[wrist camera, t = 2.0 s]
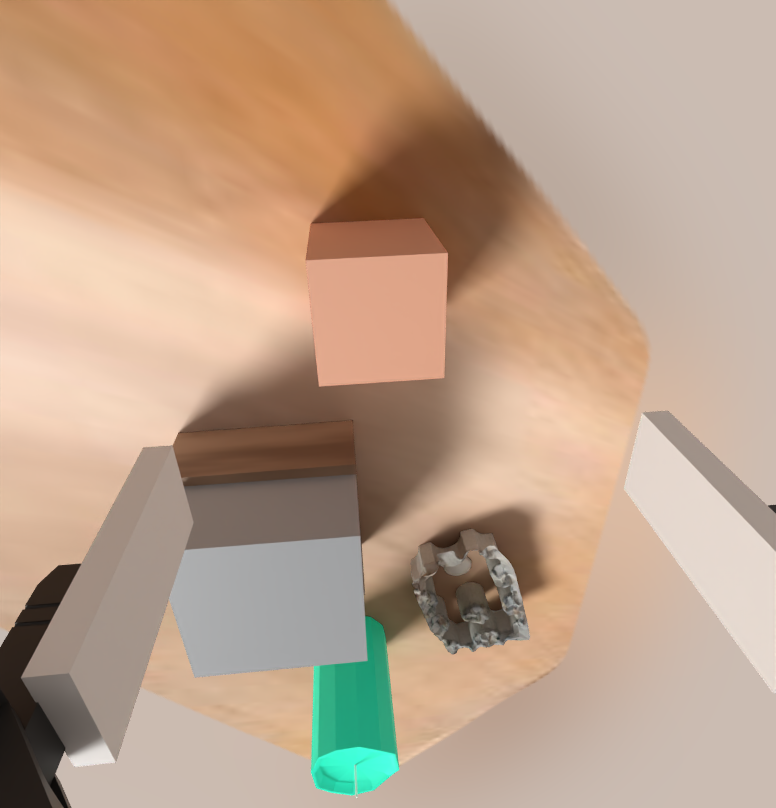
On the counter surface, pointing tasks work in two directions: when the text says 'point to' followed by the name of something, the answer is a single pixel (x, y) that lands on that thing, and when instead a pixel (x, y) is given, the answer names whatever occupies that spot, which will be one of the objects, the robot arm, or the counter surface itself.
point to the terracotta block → (377, 301)
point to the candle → (354, 721)
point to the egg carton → (469, 595)
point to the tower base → (267, 454)
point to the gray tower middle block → (271, 576)
